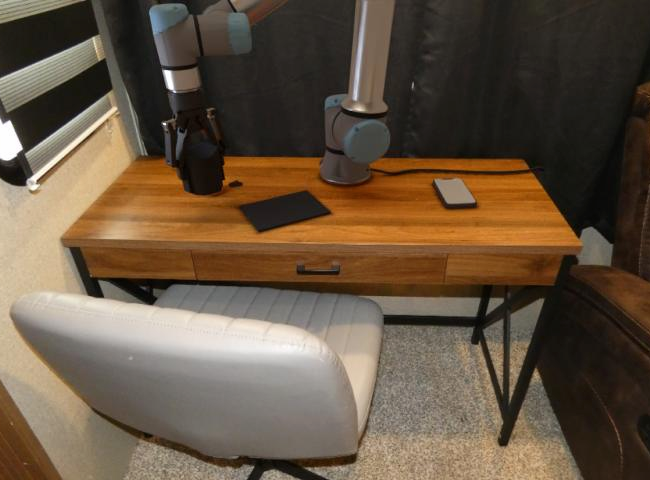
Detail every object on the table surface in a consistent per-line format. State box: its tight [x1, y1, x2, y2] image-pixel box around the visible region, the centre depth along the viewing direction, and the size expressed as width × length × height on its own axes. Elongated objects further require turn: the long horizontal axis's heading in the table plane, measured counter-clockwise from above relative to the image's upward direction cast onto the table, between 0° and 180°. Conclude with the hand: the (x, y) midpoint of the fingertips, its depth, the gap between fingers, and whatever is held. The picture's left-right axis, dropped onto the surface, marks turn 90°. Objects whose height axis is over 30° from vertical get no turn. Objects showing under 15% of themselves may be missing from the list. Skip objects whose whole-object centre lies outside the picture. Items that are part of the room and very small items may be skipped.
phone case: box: [431, 177, 478, 210], centre depth 125 cm, size 9×2×16 cm
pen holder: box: [184, 142, 224, 197], centre depth 110 cm, size 9×9×10 cm
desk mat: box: [238, 189, 332, 233], centre depth 119 cm, size 20×15×1 cm
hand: (205, 184), depth 113 cm, fingers closed on pen holder, 9 cm apart
